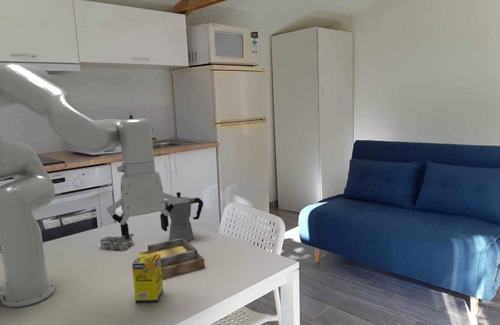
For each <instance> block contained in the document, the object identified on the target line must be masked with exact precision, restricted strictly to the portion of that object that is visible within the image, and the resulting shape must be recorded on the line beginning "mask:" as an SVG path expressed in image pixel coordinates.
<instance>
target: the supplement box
mask: <svg viewBox="0 0 500 325" xmlns="http://www.w3.org/2000/svg"><path fill="white" fill-rule="evenodd" d="M131 266H132V276H133V290H134V300H135V303H136V304H141V303H144V304H146V303H147V304H148V303H158V302H159V300H160V298H161V295H162V294H163V292H164V288H163V279H162V271H161V258H160V254H138V256H137V257H136V259H135V260H134V261H133V262H132V265H131Z"/></svg>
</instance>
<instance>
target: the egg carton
mask: <svg viewBox="0 0 500 325" xmlns="http://www.w3.org/2000/svg"><path fill="white" fill-rule="evenodd" d="M134 236H135V234H133V233H129V239H128V240H126V238H125V237H124V236H122V235H120V236H119V235H117V236H111V235H110V236H109V235H108V236H105V237H104V238H101V239H99V240H98V241H99V242H100V247H101V249H102V250H103V251H104V250H108V249H109V250H111V251H114V250H119V252H121V251H124V250H128V249H129V247H132V246H133V245H134V242H133V237H134Z"/></svg>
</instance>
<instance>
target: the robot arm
mask: <svg viewBox="0 0 500 325" xmlns="http://www.w3.org/2000/svg"><path fill="white" fill-rule="evenodd" d="M69 102H70V95H69V93H68V92H67V91H66V89H64V88H62V87H60V86H58V85H56V84H55V83H54V82H53V80H52V77H51V75H50V74H49V73H48V72H47V70H45V69H43V67H40V66H36V65H32V64H24V63H17V62H10V63H9V62H8V63H5V64H2V65H0V108H5V107H11V106H14V105H18V104H19V105H20V106H23V107H24V108H26V109H28V110H30V111H31V112H33V113H35V114H36V115H38V116H40V117H41V118H42V119H44V120H45V122H46V123H47V125H48V126H49V127H50V129H52V131H53V132H54V133H55V134H56V135H57V136H58V137H59V138H61V139H62V140H64V141H65V142H67V143H69V144H71V145H72V146H75V147H76V148H78V149H80V150H82V151H83V152H87V153H91V154H97V153H102V152H106V151H109V150H112V149H116V148H120V150H121V159H122V163H121V165H119V166H116V170H117V173H123V174H122V175H121V178H120V198H119V199H118V200H116V201H115V202H114V203H112V204H110V205H109V206H107V208H106V211H107V213H108V214H109V215H110V217H111V218H112V219H113V220H114V221H116V222H117V223H119V224H120V232H121V236H124V237H125V238H126V240H128V239H129V234H130V232H129V225H128V222H127V221H128V220H129V219H130V217H138V216H143V215H149V214H155V213H158V212H160V215H159V217H160V228H161V230H163V231H164V232H168V227H170V225H169V213H170V212H171V210H172V209H173V208H174V204H175V202H176V199H177V198H176V197H177V196H175V195H173V194H169V193H167V192H166V193H165V192H164V189H163V185H162V184H163V182H162V179H161V175H160V172H159V171H157V170H156V167H155V165H156V163H155V156H154V155H155V154H154V146H153V134H152V133H153V132H152V126H151V122H150V121H149V119H147V118H139V117H138V118H127V119H117V118H106V119H103V118H102V119H96V120H95V119H94V120H93V119H91V118H90V117H88V116H86V115H85V114H83V113H81V112H79V111H78V110H76V109H75V108H73V107H72V106H71V105H70V104H69ZM10 178H13V181H9V182H6V183H5V184H2V185H0V251H1V257H2V259H1V260H2V264H3V270H4V277H5V283H3V284H1V285H0V297H1V303H2V305H3V306H6V307H8V308H19V307H21V308H22V307H27V306H29V305H33V304H36V303H38V302H39V303H40V302H42V301H43V300H45V299H47V298H49V297H50V296H51V295H52V294H54V292H55V291H56V285H55V283H54V282H53V281H51V280H49V279H48V272H47V264H46V257H45V250H44V242H43V237H42V236H43V235H42V229H41V226H40V225H39V224H40V223H39V222H38V220H37V219H36V217H35V216H34V213H35V212H37V211H38V210H40V209H42V208H43V209H44V208H45V207H47V206H48V205H50V204H51V203H52V202H53V200H55V195H56V190H55V189H56V188H55V185H54V183H53V181H52V179H51V177H50V174H48V171H47V170H46V168H45V166H44V165H43V162H42V161H41V159H40V157H39V156H38V154H37V153H36V151H35V150H34V149H33V148H32V146H30V145H29V144H27V143H25V142H23V141H19V140H10V141H5V140H3V138H2V137H1V136H0V181H3V180H7V179H10ZM165 200H169V204H168V205H167V206H166V207H165ZM120 207H121V210H122V213H121V214H120V215H118V213H116V210H117V209H119V208H120Z"/></svg>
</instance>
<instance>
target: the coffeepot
mask: <svg viewBox="0 0 500 325" xmlns="http://www.w3.org/2000/svg"><path fill="white" fill-rule="evenodd" d="M175 194H176V196H175V197H176V198H177V199H176V202H175V204H174V208H173V209H172V210H171V212H170V213H169V215H168V217H169V218H170V225H169V227H170V228H169V236H168V241H170V240H174V239H179V238H184V239H185V240H186V241H188V242H189V243H190V242H191V241H192V240H193V239H194V238H195V236H194V231H193V226H192V223H191V221H190V218H191V212H192V204H197V203H198V205H197V210H196V216H193V217H192V219H193V220H199V219H200V216H201V213H202V209H203V206H204V201H203V200H202V199H201V198H200V197H188V196H181V194H182V193H181V192H180V191H178V192H176V193H175ZM168 204H169V200H168V199H165V207H166V206H167V205H168Z"/></svg>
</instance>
